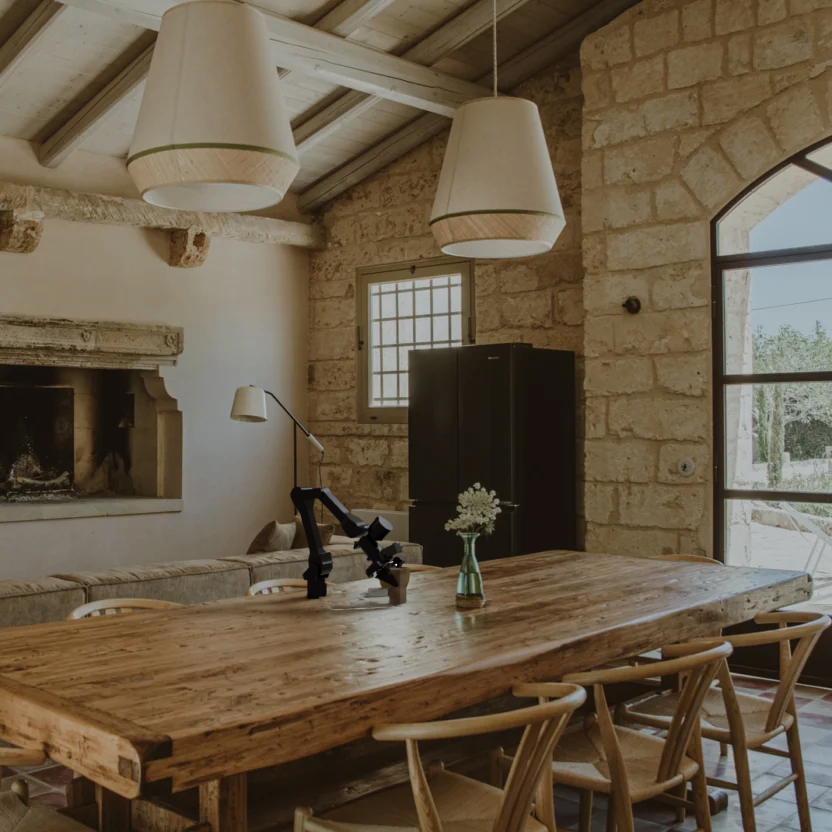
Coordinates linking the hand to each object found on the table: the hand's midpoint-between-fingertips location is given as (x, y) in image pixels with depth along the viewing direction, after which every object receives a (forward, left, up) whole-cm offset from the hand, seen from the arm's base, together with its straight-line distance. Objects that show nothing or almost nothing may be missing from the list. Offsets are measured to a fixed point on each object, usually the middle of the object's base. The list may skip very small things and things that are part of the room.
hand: (401, 585), depth 334 cm
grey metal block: (-7, +16, -6) cm, 19 cm away
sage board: (-3, +12, -7) cm, 14 cm away
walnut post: (-1, +1, -7) cm, 7 cm away
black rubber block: (-1, +17, -6) cm, 18 cm away
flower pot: (0, +26, -7) cm, 27 cm away
